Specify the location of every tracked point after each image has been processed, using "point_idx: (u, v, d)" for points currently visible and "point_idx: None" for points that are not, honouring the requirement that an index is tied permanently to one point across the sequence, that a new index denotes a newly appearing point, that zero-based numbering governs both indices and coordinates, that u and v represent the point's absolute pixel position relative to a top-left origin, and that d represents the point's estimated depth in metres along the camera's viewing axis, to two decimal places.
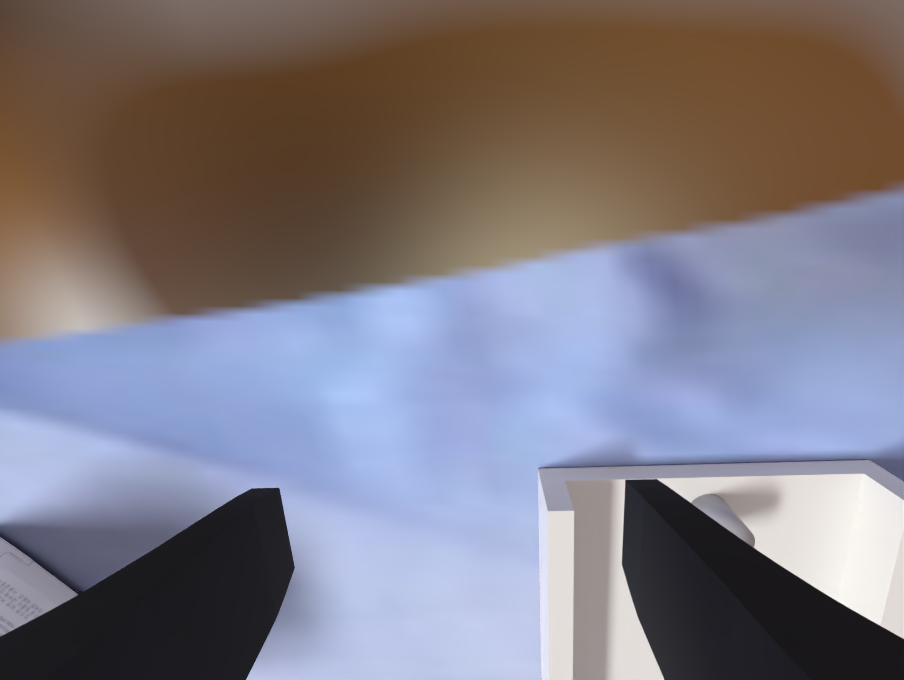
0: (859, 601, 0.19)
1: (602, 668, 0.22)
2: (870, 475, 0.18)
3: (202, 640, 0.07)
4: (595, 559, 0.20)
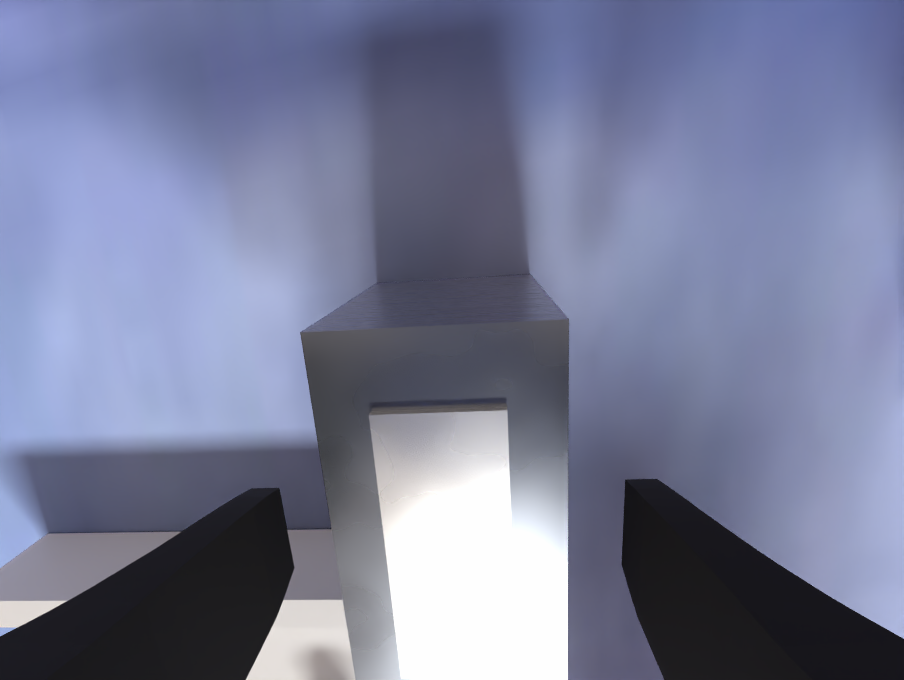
0: None
1: None
2: None
3: (202, 640, 0.07)
4: None
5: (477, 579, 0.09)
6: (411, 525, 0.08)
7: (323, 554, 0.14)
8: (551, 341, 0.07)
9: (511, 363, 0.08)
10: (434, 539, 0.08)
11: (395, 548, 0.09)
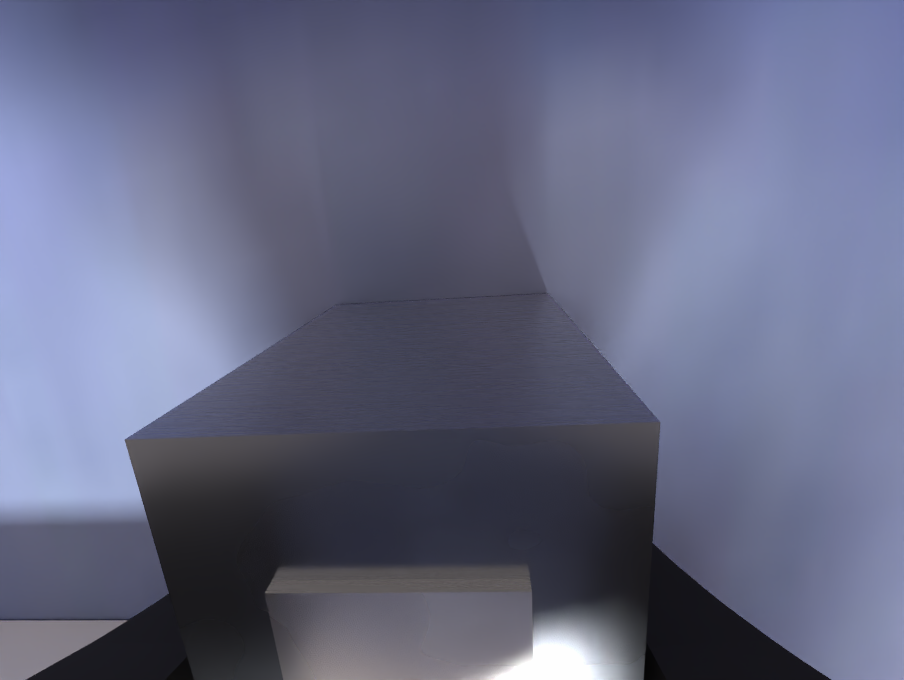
0: None
1: None
2: None
3: None
4: None
5: None
6: None
7: None
8: (622, 463, 0.04)
9: (541, 502, 0.04)
10: None
11: None
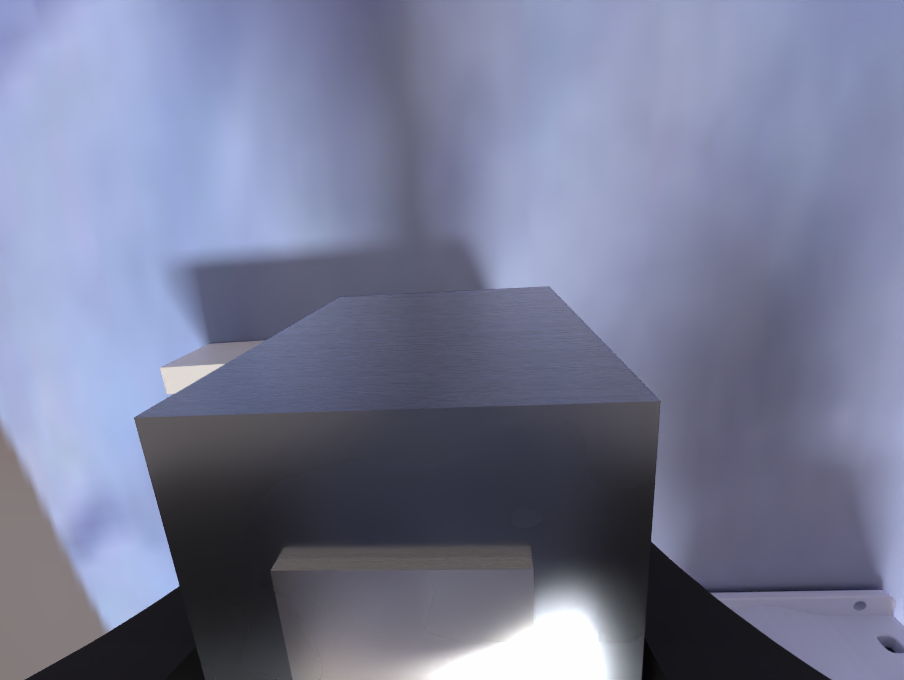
0: None
1: None
2: None
3: None
4: None
5: None
6: None
7: None
8: (623, 442, 0.04)
9: (543, 480, 0.04)
10: None
11: None
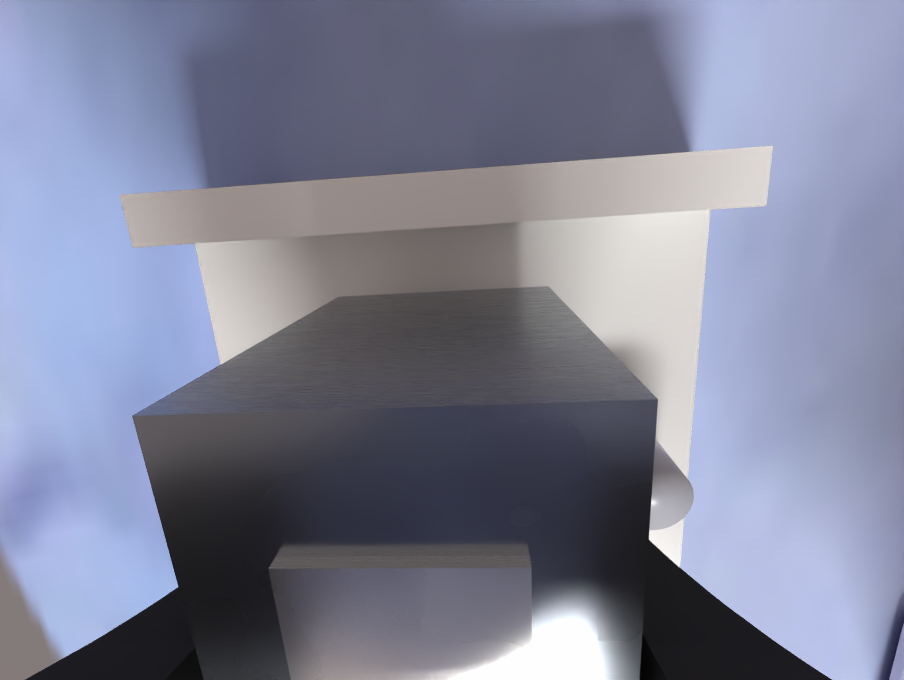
0: None
1: None
2: None
3: None
4: None
5: None
6: None
7: None
8: (620, 440, 0.04)
9: (539, 478, 0.04)
10: None
11: None
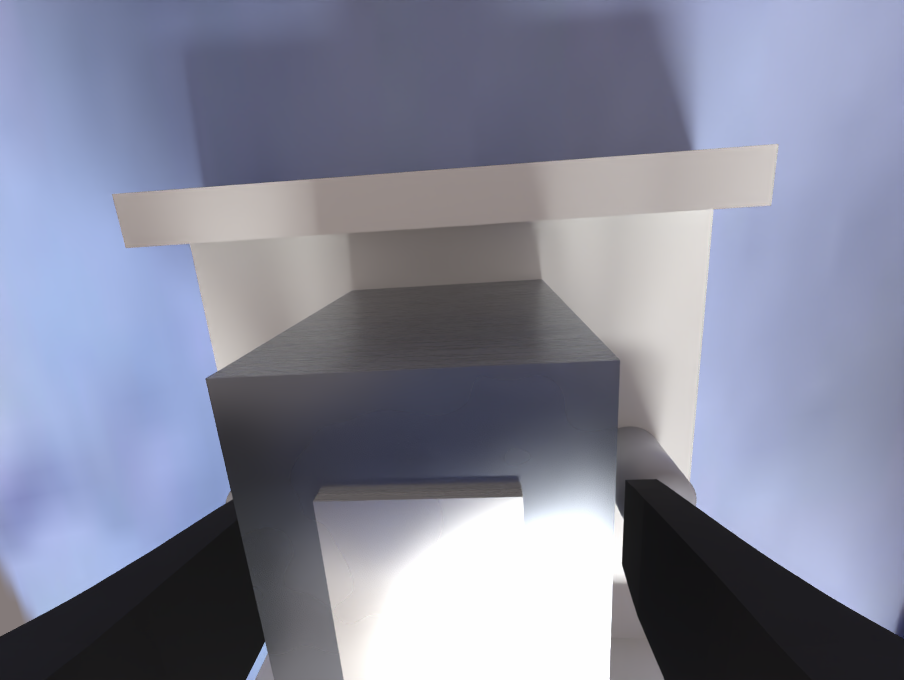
0: None
1: (622, 587, 0.13)
2: None
3: (202, 640, 0.07)
4: None
5: None
6: (381, 653, 0.06)
7: None
8: (592, 393, 0.05)
9: (529, 424, 0.05)
10: (415, 672, 0.06)
11: None
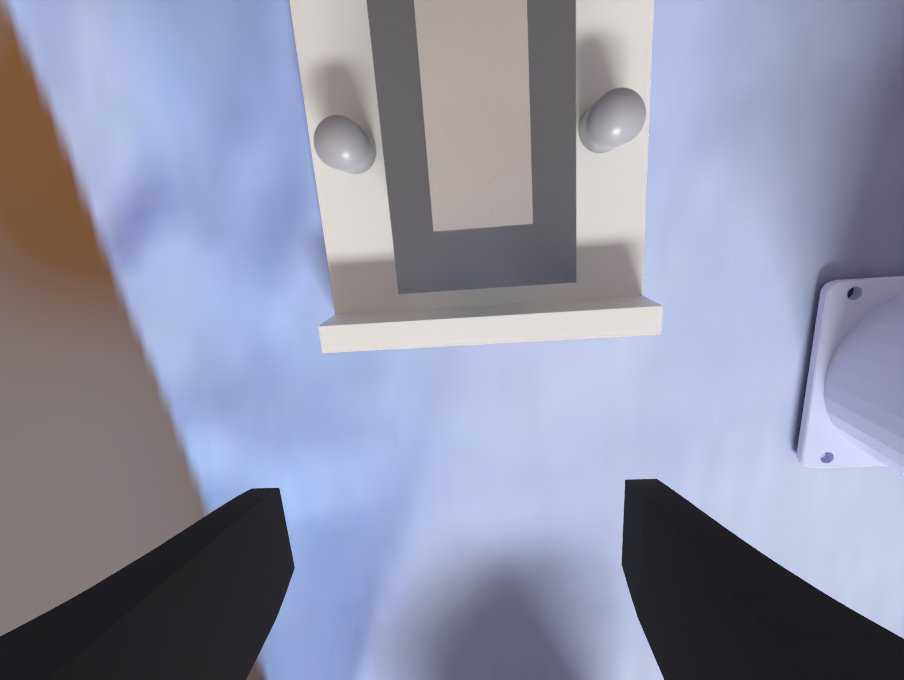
0: None
1: (601, 249, 0.17)
2: None
3: (202, 640, 0.07)
4: None
5: (499, 111, 0.10)
6: (443, 55, 0.10)
7: None
8: None
9: None
10: (462, 69, 0.10)
11: (429, 84, 0.10)
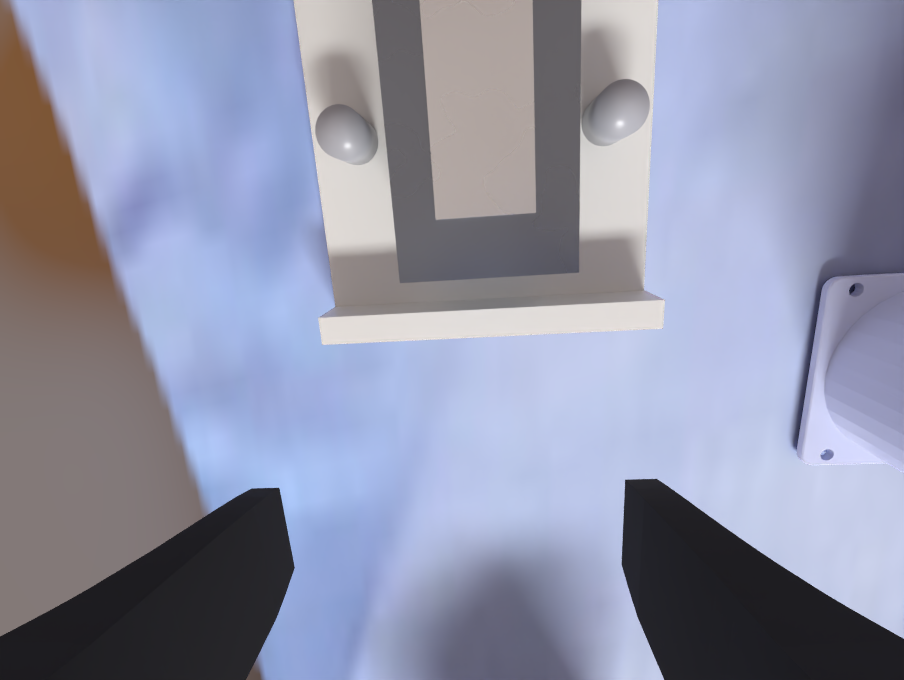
0: None
1: (602, 243, 0.17)
2: None
3: (202, 640, 0.07)
4: None
5: (503, 98, 0.10)
6: (447, 41, 0.10)
7: None
8: None
9: None
10: (467, 55, 0.10)
11: (433, 70, 0.10)
